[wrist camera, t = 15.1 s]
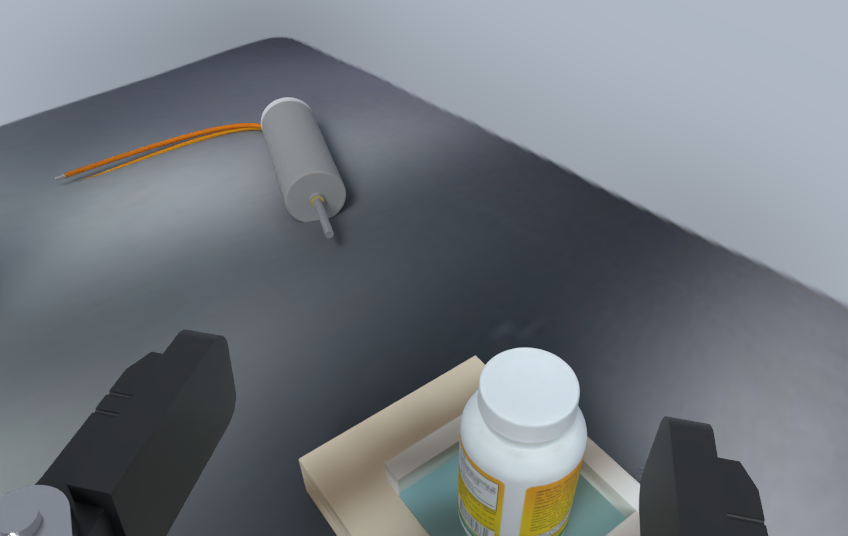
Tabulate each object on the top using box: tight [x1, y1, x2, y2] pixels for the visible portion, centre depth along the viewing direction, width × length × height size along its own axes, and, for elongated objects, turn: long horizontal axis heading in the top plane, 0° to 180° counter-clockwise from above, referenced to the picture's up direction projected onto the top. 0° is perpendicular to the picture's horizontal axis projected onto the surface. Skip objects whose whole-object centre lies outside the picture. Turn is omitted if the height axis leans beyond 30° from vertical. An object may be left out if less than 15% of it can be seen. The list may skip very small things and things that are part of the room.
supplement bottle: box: [458, 348, 587, 536], centre depth 31 cm, size 5×5×10 cm
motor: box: [55, 97, 346, 238], centre depth 60 cm, size 23×22×5 cm
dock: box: [299, 356, 640, 536], centre depth 34 cm, size 18×12×4 cm
